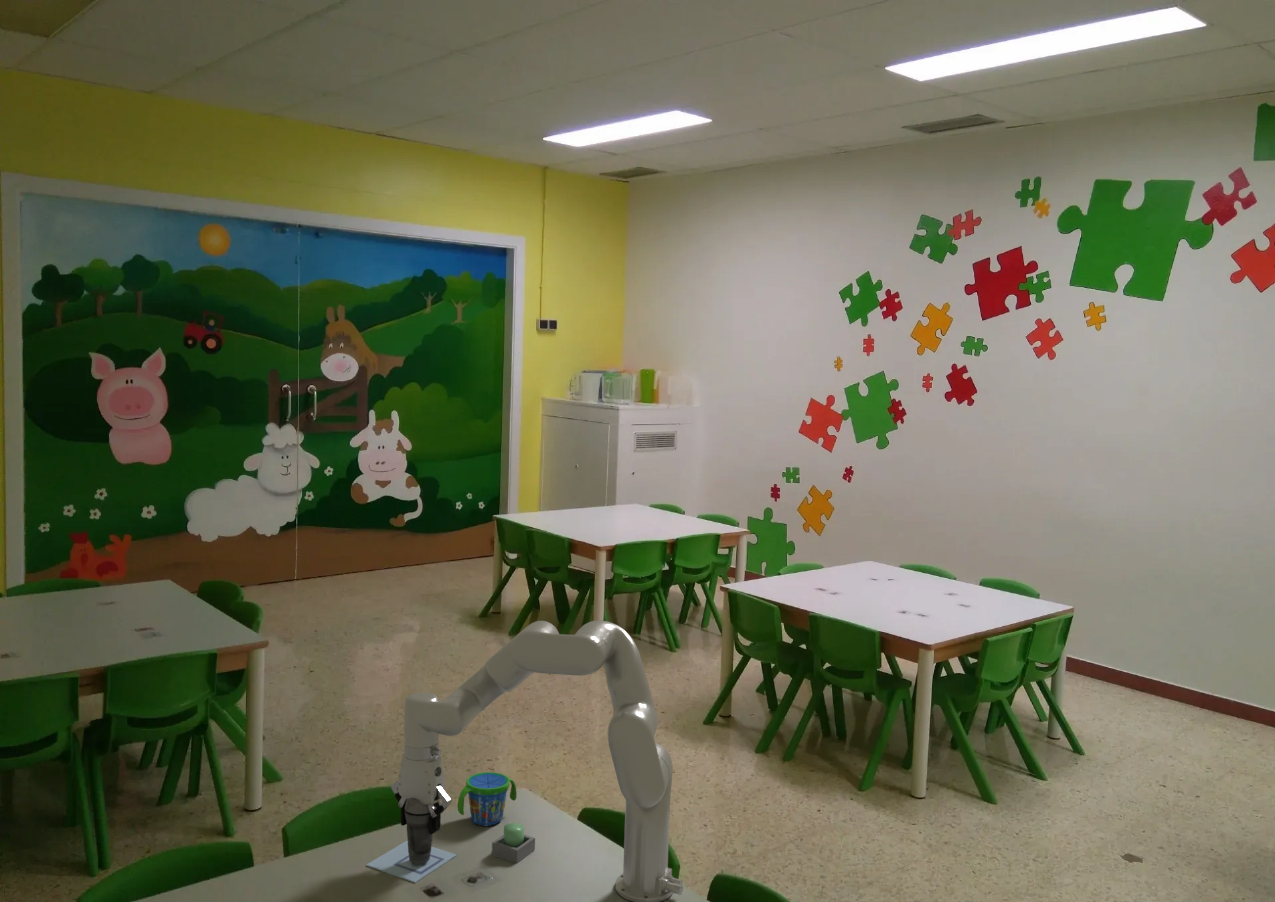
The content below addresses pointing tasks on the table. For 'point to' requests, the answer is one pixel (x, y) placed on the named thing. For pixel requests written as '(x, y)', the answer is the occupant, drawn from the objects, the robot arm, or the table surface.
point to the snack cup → (486, 797)
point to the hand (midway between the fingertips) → (420, 827)
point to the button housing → (513, 849)
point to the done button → (514, 834)
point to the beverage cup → (418, 830)
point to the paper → (409, 863)
